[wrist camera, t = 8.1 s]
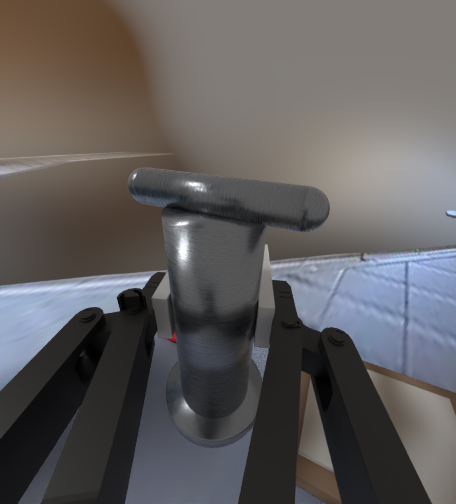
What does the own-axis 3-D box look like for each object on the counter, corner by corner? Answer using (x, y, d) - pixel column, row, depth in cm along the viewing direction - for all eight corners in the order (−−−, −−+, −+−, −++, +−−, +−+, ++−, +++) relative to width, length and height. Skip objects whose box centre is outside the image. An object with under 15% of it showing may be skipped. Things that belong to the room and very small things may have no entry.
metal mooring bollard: (133, 408, 15) (59, 178, 8) (186, 335, 20) (172, 159, 13) (262, 482, 12) (333, 221, 5) (285, 374, 17) (336, 174, 10)
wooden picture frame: (273, 472, 19) (276, 461, 18) (302, 347, 31) (304, 337, 30) (539, 629, 13) (563, 625, 12) (453, 402, 25) (462, 391, 24)
